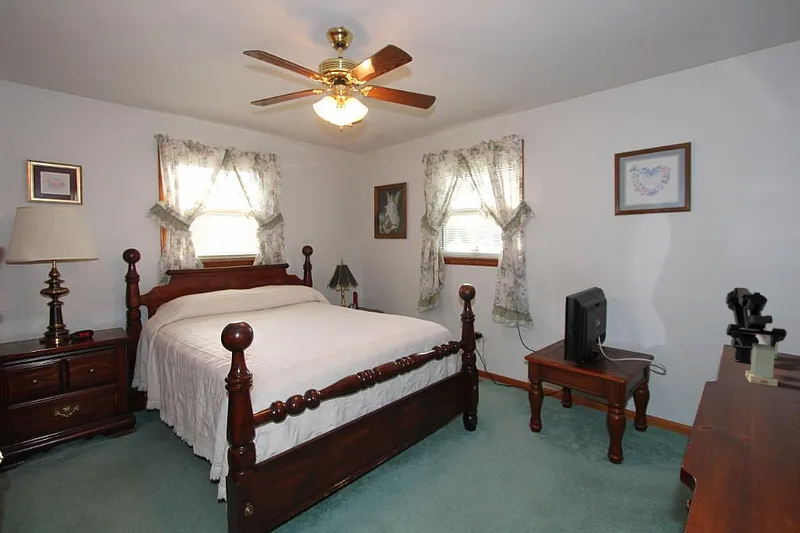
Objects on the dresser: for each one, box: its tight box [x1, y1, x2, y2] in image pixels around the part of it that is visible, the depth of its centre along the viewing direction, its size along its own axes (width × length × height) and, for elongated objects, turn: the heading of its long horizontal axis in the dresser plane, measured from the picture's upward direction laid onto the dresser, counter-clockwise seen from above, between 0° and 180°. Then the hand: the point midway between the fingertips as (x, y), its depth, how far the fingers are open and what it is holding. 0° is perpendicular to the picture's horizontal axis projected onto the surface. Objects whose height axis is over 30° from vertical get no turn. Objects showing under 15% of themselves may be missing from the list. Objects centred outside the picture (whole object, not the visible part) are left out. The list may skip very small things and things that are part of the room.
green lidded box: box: [750, 343, 776, 379], centre depth 161 cm, size 6×6×12 cm
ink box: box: [756, 327, 779, 360], centre depth 194 cm, size 9×5×15 cm, turn 179°
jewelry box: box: [744, 369, 779, 387], centre depth 162 cm, size 8×8×3 cm
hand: (757, 349), depth 167 cm, fingers open, 9 cm apart
